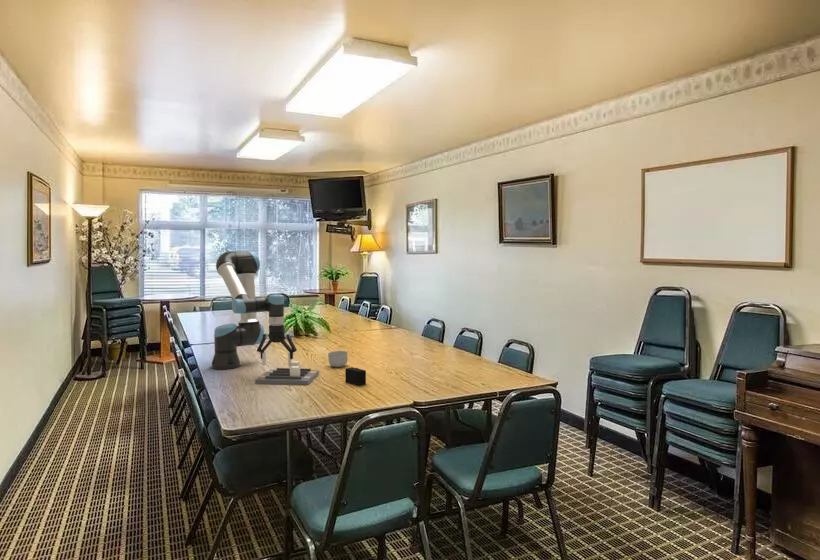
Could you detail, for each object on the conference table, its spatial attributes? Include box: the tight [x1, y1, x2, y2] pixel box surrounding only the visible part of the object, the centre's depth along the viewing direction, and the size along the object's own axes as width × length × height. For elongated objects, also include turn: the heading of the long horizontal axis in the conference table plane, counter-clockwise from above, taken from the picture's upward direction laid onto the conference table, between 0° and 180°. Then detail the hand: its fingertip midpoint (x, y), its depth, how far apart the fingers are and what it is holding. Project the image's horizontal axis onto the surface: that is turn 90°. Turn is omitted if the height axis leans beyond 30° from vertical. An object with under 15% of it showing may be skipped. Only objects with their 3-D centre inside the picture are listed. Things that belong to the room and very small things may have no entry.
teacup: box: [327, 350, 348, 368], centre depth 286 cm, size 14×11×8 cm
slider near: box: [289, 365, 301, 376], centre depth 250 cm, size 4×4×5 cm
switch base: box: [254, 367, 320, 386], centre depth 256 cm, size 26×22×3 cm
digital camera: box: [344, 366, 367, 387], centre depth 248 cm, size 10×5×7 cm, turn 48°
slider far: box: [289, 360, 300, 368], centre depth 261 cm, size 4×4×5 cm
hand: (277, 365), depth 262 cm, fingers open, 13 cm apart
